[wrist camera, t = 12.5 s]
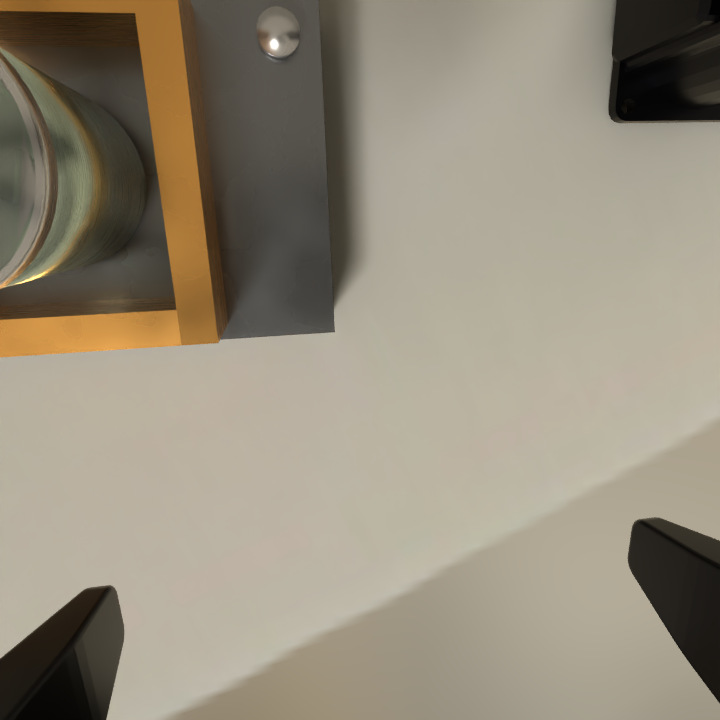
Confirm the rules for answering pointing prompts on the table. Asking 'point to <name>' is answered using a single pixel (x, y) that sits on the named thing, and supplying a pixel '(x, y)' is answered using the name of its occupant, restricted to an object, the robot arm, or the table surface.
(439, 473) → the table surface
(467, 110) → the table surface
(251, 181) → the grey orange socket fixture
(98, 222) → the spout can
